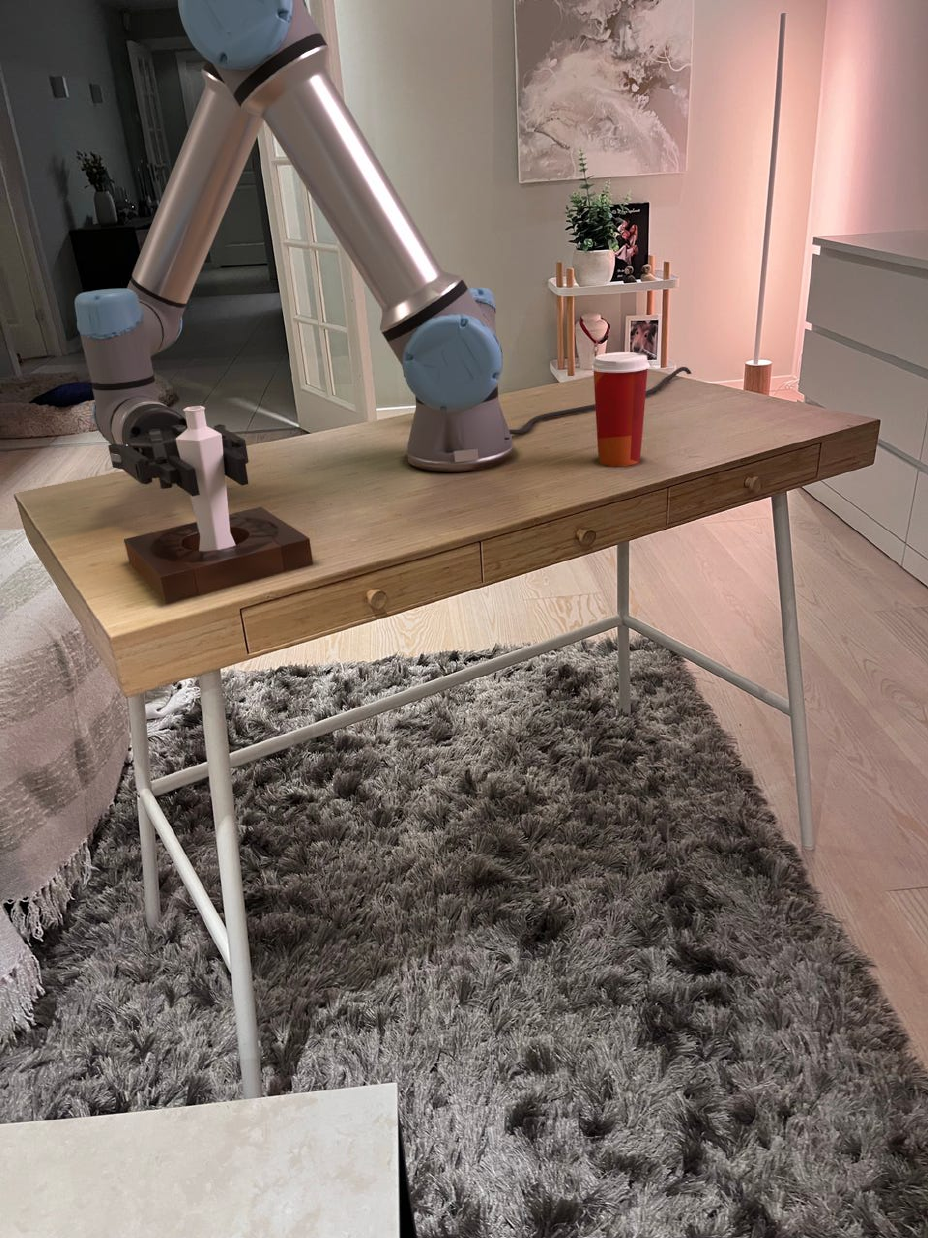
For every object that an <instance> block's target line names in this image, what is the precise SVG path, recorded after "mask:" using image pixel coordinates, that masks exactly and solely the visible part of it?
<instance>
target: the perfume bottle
mask: <svg viewBox="0 0 928 1238" xmlns="http://www.w3.org/2000/svg"><path fill="white" fill-rule="evenodd" d="M205 409H206V407H205V406H202V405H193V406H187V407H185V408H184V409H183V410H182V411H183V412H184V416H185V419H186V421H187V427H188V429H187V430H186V431H184V432H183V433H182V434H181V435H180V436H178V437H177V438H176V443H177V447H178V451H179V455H180V459H181V460H183V461H184V462H186V463H187V464H189V465H190V466H192V467H193V468H195V471H196V477H197V482H198V488H199V493H200V495H197V496H193V497H192V496H191V495H190V494H189V498H190V502H191V505H192V509H193V513H194V517H195V522H197V525H198V529H199V533H200V547H199V551H212V550H220V549H224V548H228V547H232V546H235V542H234V540H233V538H232V535H231V533H230V524H229V514H230V513H229V504H228V491H227V481H226V480H227V479H226V475H225V467H224V456H223V445H222V434H221V433H219V432H217V431H215V430H213V429H211V428H212V427H209V426H207V420H206V415H205Z"/></svg>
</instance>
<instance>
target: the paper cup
mask: <svg viewBox="0 0 928 1238" xmlns="http://www.w3.org/2000/svg"><path fill="white" fill-rule="evenodd" d="M650 367H651V364H650V363H649V362H648V355H646V354H643V353H638V352H635V351H634V352H631V351H618V352H617V351H616V352H607V353H601V354H598V355H596V356H595V357H594V361H593V364H591V367H590V369H591V371H593V387H594V388H593V389H594V390H593V391H594V402H595V403H594V404H595V408H596V409H595V423H596V425H595V426H596V441H597V455H598V462H599V463H600V464H602V465H605V466H609V467H627V466H633V465H636V464H638V463H640V460H641V453H642V441H643V430H644V429H643V428H644V419H645V417H644V416H645V403H646V396H645V394H646V391H647V378H648V369H649V368H650Z"/></svg>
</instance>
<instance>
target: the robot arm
mask: <svg viewBox="0 0 928 1238" xmlns="http://www.w3.org/2000/svg"><path fill="white" fill-rule="evenodd" d="M177 4H178V5H177V6H178V13H179V17H180V20H181V24H182V27H183V29H184V31H185V33H186V35H187V37H188V39H189V41H190V43H191V44H192V46H193V47H194V48H195V50H196V51H197V52H198V53H200V55H201V57H203V58H204V59H205V61H204V64H203V67H202V69H201V74H202V77H203V80H204V83H205V87H204V89H203V92H202V94H201V97H200V99H199V102H198V104H197V107H196V110H195V112H194V115H193V117H192V120H191V122H190V124H189V128H188V130H187V132H186V135H185V138H184V141H183V142H182V145H181V148H180V151H179V153H178V156H177V158H176V160H175V162H174V166H173V169H172V171H171V174H170V175H169V179H168V182H167V184H166V186H165V188H164V189H165V190H164V192H163V194H162V196H161V200H160V202H159V205H158V207H157V210H156V212H155V215H154V217H153V220H152V223H151V225H150V228H149V230H148V233H147V235H146V238H145V240H144V243H143V244H142V245H143V246H142V248H141V250H140V254H139V256H138V258H137V261H136V263H135V266H134V268H133V271H132V274H131V278H130V280H129V283H128V285H127V287H126V288H108V289H107V288H105V289H96V290H91V291H85V292H81V293H79V294H77V296H76V297H75V299H74V309H75V316H76V321H77V322H76V327H77V331H78V332H79V336H80V340H81V343H82V344H81V345H82V348H83V352H84V357H85V360H86V365H87V369H88V373H89V377H90V382H91V385H92V386H91V389H92V394H93V397H94V402H93V405H92V419H93V423H94V425H95V427H96V429H97V430H98V432H99V433H100V434H101V435H102V437H103V438H104V439H105V441H107V442H108V443H109V445H108V446H107V448H108V452H109V456H110V461H111V465H112V468H113V469H118V470H123V471H124V472H125V473H126V474H127V475H129V476H131V477H132V478H133V479H134V480H135V481H137V483H139V484H141V485H150V484H152V483H153V479H158V480H159V485H160V489H163V490H168V489H171V488H173V487H174V486H173V485H176V486H178V488H180V489H181V490H183V491H184V492H185V493H187V494H188V495H189V496H190V495H191V496H192V497H193V496H197V495H200V493H199V488H198V482H197V477H196V471H195V468H193V467H192V466H190V465H189V464H187V463H186V462H184V461H183V460H181V459H180V455H179V451H178V447H177V443H176V438H177V437H178V436H180V435H181V434H182V433H183V432H184V431H186V430H187V429H188V427H187V421H186V417H184V416H183V415H182V414H181V413H179V412H178V411H176V410H175V409H173V408H171V407H169V406H168V405H166V404H164V403H163V402H160V400H159V394H158V390H157V385H156V379H155V374H154V368H153V364H152V358H151V357H153V356H154V355H156V354H158V353H161V352H163V351H166V350H167V349H169V348H170V347H171V346H172V345H173V344H174V343H175V342H176V341H177V339H178V338H179V336H180V335H181V332H182V330H183V314H184V312H185V310H186V306H187V304H188V301H189V299H190V297H191V294H192V291H193V289H194V287H195V284H196V282H197V280H198V277H199V275H200V272H201V270H202V268H203V265H204V263H205V261H206V258H207V255H208V253H209V251H210V249H211V246H212V244H213V241H214V240H215V237H216V234H217V232H218V230H219V228H220V225H221V223H222V220H223V218H224V216H225V213H226V211H227V209H228V207H229V204H230V202H231V199H232V197H233V195H234V193H235V190H236V187H237V185H238V183H239V180H240V178H241V175H242V173H243V171H244V169H245V167H246V164H247V161H248V159H249V156H250V155H251V152H252V150H253V147H254V145H255V142H256V140H257V138H258V137H259V133H260V131H261V128H262V126H263V124H264V122H265V124H266V126H267V127H268V128H269V130H270V131H271V133H272V136H274V138H275V140H276V142H277V143H278V145H279V147H280V148H281V150H282V151H283V153H284V154H285V156H286V157H287V159H288V160H289V162H290V164H291V165H292V167H293V169H294V170H295V172H296V174H297V175H298V177H299V178H300V180H301V182H302V183H303V185H304V186H305V188H306V190H307V191H308V193H309V194H310V196H311V198H312V199H313V201H314V202H315V204H316V206H317V208H318V210H319V211H320V212H321V214H322V215H323V217H324V220H326V222H327V224H328V225H329V227H330V228H331V230H332V231H333V234H334V235H335V236H336V238H337V240H338V241H339V243H340V245H341V246H342V248H343V250H344V251H345V253H346V254H347V255H348V257H349V259H350V261H351V262H352V264H353V266H354V267H355V269H356V270H357V271H358V273H359V275H360V277H361V279H362V280H363V281H364V283H365V285H366V287H367V288H368V290H369V291H370V293H371V295H372V296H373V298H374V299H375V301H376V303H377V304H378V307H380V309H381V320H380V324H379V330H380V332H381V334H382V336H383V337H384V339H385V340H386V342H387V344H388V345H389V347H390V349H391V350H392V352H393V354H394V355H395V357H396V358H397V360H398V362H399V363H400V365H401V367H402V371H403V377H404V379H405V383H406V385H407V387H408V388H409V390H410V391H411V393H412V394H413V395H414V396H415V397H414V399H415V410H414V414H413V419H412V423H411V428H410V432H409V436H408V441H407V444H406V455H407V456H406V457H407V462H408V463H409V464H410V465H411V466H413V467H415V468H417V469H421V470H425V471H433V472H450V473H451V472H453V473H454V472H470V471H476V470H483V469H487V468H492V467H495V466H498V465H501V464H504V463H506V462H508V461H509V460H510V459H511V458H512V457H513V456H514V442H513V437H512V435H523V434H525V433H527V432H528V431H529V430H530V429H531V427H532V425H533V424H535V423H537V422H539V421H542V420H546V419H551V418H555V417H560V416H561V417H562V416H567V415H571V414H577V413H581V412H587V411H591V410H596V408H595V403H593V404H589V405H582V406H578V407H574V408H569V409H563V410H558V411H552V412H548V413H544V414H539V415H536V416H534V417H532V418H530V419H529V420H528V421H527V422H526V424H525V426H524V427H521V428H519V429H513V428H511V429H509V426H508V423H507V421H506V418H505V415H504V411H503V410H502V407H501V404H500V400H499V385H498V384H499V380H500V376H501V373H502V371H503V365H504V363H503V359H504V357H503V350H502V347H501V344H500V341H499V339H498V337H497V334H496V315H495V314H496V312H497V307H496V304H495V298H494V293H493V291H492V290H491V289H490V288H487V287H468V286H467V285H466V282H465V281H464V279H463V278H462V276H461V275H459V274H456V273H455V274H454V273H451V272H447V271H445V270H443V269H442V267H441V265H440V263H439V262H438V260H437V258H436V257H435V255H434V253H433V251H432V249H431V248H430V247H429V244H428V242H427V241H426V239H425V238H424V236H423V234H422V232H421V231H420V229H419V228H418V226H417V224H416V222H415V221H414V219H413V217H412V215H411V214H410V212H409V210H408V209H407V207H406V205H405V203H404V202H403V200H402V198H401V196H400V195H399V193H398V191H397V190H396V188H395V186H394V185H393V183H392V181H391V179H390V178H389V176H388V174H387V172H386V171H385V169H384V168H383V166H382V164H381V162H380V161H379V158H378V157H377V156H376V154H375V152H374V150H373V148H372V147H371V145H370V143H369V142H368V140H367V138H366V136H365V135H364V133H363V131H362V130H361V128H360V126H359V125H358V123H357V121H356V119H355V117H354V116H353V114H352V112H351V111H350V109H349V108H348V106H347V104H346V103H345V101H344V99H343V97H342V95H341V94H340V92H339V90H338V89H337V87H336V85H335V83H334V82H333V81H332V79H331V77H330V75H329V71H328V68H329V67H328V66H329V59H330V53H331V48H330V47H329V45H328V43H327V42H326V40H325V38H324V36H323V35H322V33H321V32H320V29H319V27H318V26H317V24H316V23H315V21H314V19H313V17H312V16H311V14H310V12H309V8H308V6H307V5H308V4H307V2H306V0H177ZM681 372H685V373H686V374H687V375H692V374H693V373H692V371H691V370H690V368H689V367H687V366H680V367H678V368H677V369H675V370H674V371H672V372H671V373H670V374H669V375H667V376H666V377H664V378H663V379H662V380H661V382H659V384H657V385H656V386H653V387H652V388H650V389H646V394H645V397H647V396H650V395H651V394H654V393H655V392H658V391H659V390H661V389H662V388H663V387H664V386H665V385H666V384H667V383H668V382H669V381H670V380H672V379H673V378H675V376H677V375H678V374H679V373H681ZM210 428H211V429H213V430H215V431H217V432H219V433H221V434H222V445H223V456H224V467H225V477H227V478H229V479H230V480H232V481H234V482H235V483H237V484H238V485H239V486H241V487H243V486H248V485H249V484H250V482H249V477H248V469H247V465H248V464H249V455H248V448H247V443H246V439H244V438H242V437H241V436H239V435H237V434H235V433H234V432H231V431H229V430H227V428H226V425H225V424H221V423H218V424H215V425H214V427H210Z"/></svg>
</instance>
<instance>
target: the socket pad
mask: <svg viewBox="0 0 928 1238" xmlns="http://www.w3.org/2000/svg"><path fill="white" fill-rule="evenodd" d="M229 524H230V533H231V535H232V538H233V540H234V542H235V546H232V547H228V548H224V549H220V550H212V551H199V547H200V533H199V529H198V525H197V521H195V522H190V523H187V524H182V525H178V526H174V527H169V528H163V529H160V530H156V531H152V532H148V533H143V534H139V535H135V536H131V537H127V538H124V539H123V541H124V546H125V550H126V554H127V559H128V563H129V565H130V566H131V567H132V568H133V570H134V571H135V572H136V573H137V574H138V575H139V576H140V577H141V579H143V580H144V582H145V583H147V585H148V586H149V587H150V588H151V589H152V591H154V593H155V594H156V595H157V596H158V597H159V598H160V600H162V601H163V602H164V603H165V604H166V605H169V604H172V603H176V602H180V601H183V600H187V599H191V598H194V597H198V596H202V595H205V594H208V593H213V592H216V591H219V590H224V589H227V588H231V587H233V586H239V585H242V584H245V583H249V582H252V581H253V582H254V581H257V580H260V579H264V578H267V577H271V576H274V575H278V574H282V573H287V572H290V571H294V570H298V569H300V568H304V567H308V566H311V565H312V566H313V565H314V560H313V552H312V546H311V538H310V537H309V536H307V535H306V534H303V533H302V532H301V531H299V530H298V529H296V528H295V527H293V526H291V525H290V524H288V523H287V522H285V521H284V520H282V519H280V518H279V517H278V516H276V515H275V514H273V513H271V512H270V511H268V510H267V509H265V508H264V507H262V506H258V507H254V508H249V509H245V510H240V511H237V512H234V513H229Z"/></svg>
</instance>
